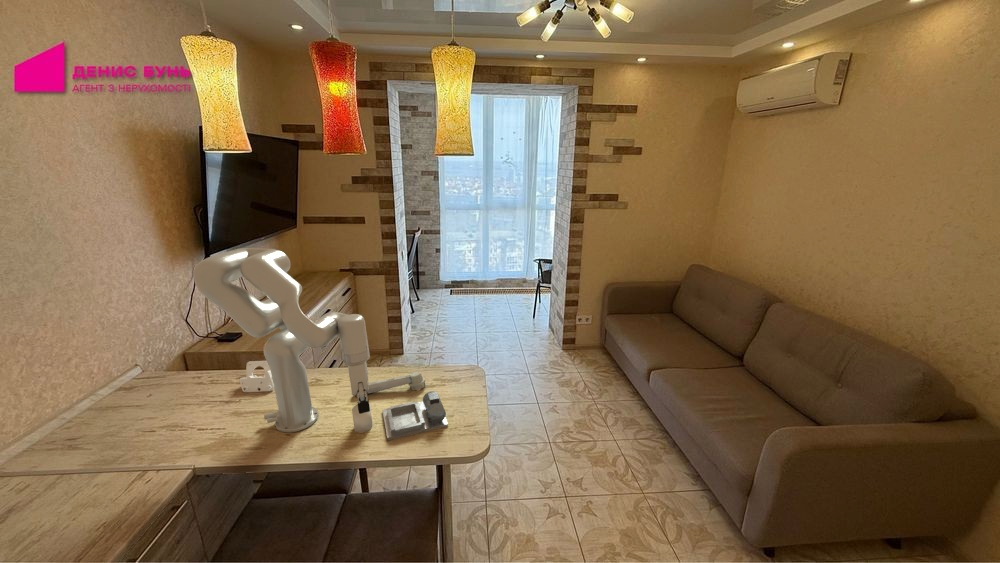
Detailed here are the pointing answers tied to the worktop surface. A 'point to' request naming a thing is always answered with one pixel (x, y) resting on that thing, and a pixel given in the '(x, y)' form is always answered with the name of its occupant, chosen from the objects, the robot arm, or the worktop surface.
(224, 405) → the worktop surface
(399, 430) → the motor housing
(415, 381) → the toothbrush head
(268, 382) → the mounting bracket
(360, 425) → the cylinder
